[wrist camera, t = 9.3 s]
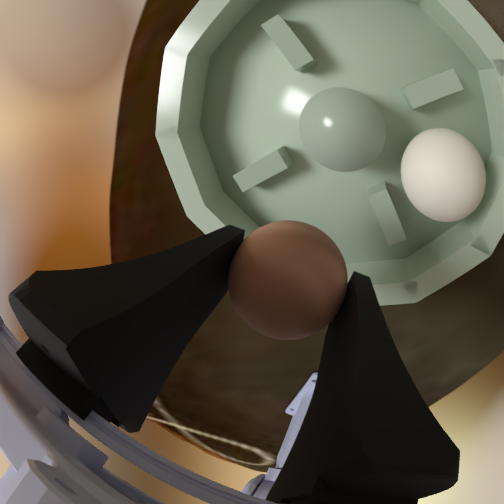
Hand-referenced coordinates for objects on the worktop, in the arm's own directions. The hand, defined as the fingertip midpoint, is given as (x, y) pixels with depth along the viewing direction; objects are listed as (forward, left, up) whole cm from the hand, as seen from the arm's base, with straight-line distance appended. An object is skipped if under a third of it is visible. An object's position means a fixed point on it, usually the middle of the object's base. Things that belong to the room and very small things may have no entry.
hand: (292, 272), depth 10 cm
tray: (+5, 0, -7) cm, 8 cm away
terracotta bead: (0, 0, -1) cm, 1 cm away
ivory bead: (+5, -5, -6) cm, 9 cm away
